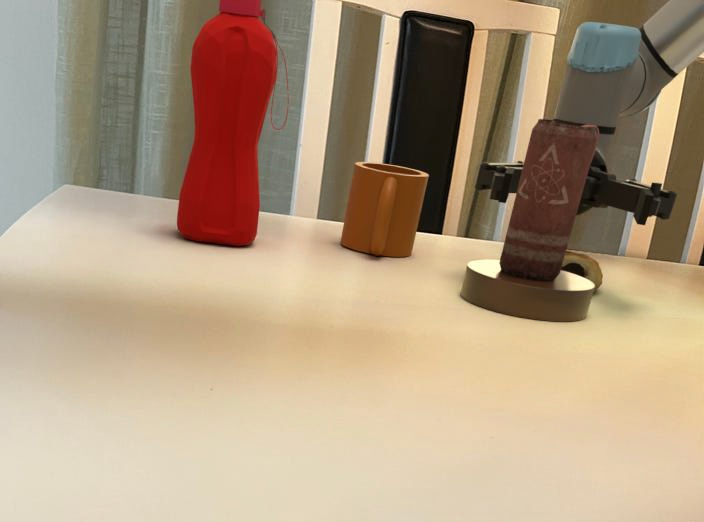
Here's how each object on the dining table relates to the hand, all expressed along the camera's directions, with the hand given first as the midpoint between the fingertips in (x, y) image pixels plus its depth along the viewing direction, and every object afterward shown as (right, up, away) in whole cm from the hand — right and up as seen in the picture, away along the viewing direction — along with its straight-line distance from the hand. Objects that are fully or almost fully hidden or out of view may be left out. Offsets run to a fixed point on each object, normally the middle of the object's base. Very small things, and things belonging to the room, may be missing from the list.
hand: (574, 199), depth 99 cm
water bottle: (-35, +3, +17) cm, 39 cm away
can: (-3, -6, +4) cm, 8 cm away
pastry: (+5, -3, +17) cm, 18 cm away
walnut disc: (-3, -9, +6) cm, 11 cm away
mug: (-17, +3, +22) cm, 28 cm away
